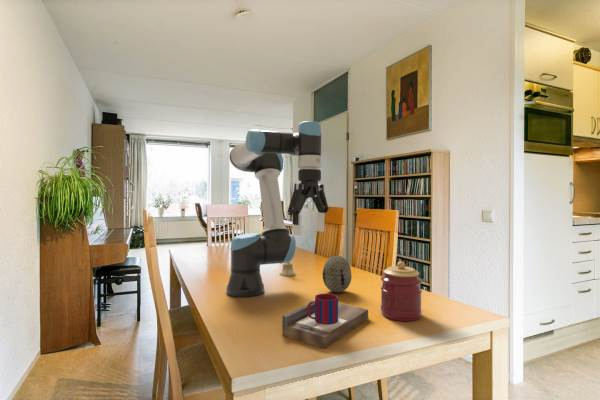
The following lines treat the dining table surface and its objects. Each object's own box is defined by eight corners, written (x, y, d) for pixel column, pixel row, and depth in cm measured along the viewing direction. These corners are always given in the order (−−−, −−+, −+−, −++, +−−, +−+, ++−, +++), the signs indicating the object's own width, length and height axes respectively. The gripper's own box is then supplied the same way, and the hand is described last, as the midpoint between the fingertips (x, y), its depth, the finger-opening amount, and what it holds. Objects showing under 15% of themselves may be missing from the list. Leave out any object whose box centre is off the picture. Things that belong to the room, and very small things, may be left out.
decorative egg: (356, 294, 133) (356, 257, 133) (328, 297, 130) (328, 258, 130) (344, 287, 145) (344, 252, 144) (318, 289, 141) (318, 253, 141)
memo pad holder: (282, 335, 95) (282, 315, 95) (330, 309, 116) (330, 293, 116) (324, 348, 87) (324, 327, 87) (368, 318, 108) (368, 301, 108)
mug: (342, 322, 96) (342, 298, 96) (311, 328, 92) (312, 303, 91) (330, 314, 102) (330, 292, 102) (300, 320, 97) (300, 296, 97)
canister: (398, 324, 103) (398, 267, 103) (372, 311, 115) (373, 259, 115) (430, 318, 108) (431, 263, 108) (403, 306, 120) (403, 256, 120)
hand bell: (276, 273, 170) (276, 241, 170) (292, 271, 173) (292, 240, 173) (283, 277, 162) (283, 243, 162) (298, 275, 166) (298, 242, 166)
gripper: (296, 166, 100) (295, 237, 100) (338, 170, 120) (338, 230, 120) (276, 167, 104) (276, 235, 104) (320, 171, 124) (320, 229, 125)
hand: (309, 233), depth 112 cm, fingers open, 13 cm apart
